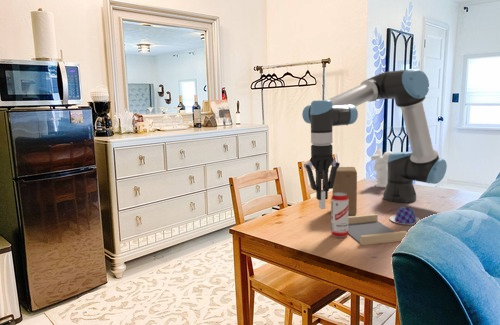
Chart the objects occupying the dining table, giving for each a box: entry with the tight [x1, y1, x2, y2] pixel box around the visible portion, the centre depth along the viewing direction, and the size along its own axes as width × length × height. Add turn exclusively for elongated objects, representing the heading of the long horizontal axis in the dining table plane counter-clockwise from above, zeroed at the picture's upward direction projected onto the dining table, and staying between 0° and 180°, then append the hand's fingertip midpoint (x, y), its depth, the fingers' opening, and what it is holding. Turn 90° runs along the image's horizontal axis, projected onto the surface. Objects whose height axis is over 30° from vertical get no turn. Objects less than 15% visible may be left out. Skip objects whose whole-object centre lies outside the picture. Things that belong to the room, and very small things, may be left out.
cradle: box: [348, 213, 408, 246], centre depth 140 cm, size 17×22×3 cm
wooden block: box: [332, 166, 358, 217], centre depth 163 cm, size 10×10×20 cm
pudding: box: [389, 206, 422, 226], centre depth 151 cm, size 12×12×5 cm
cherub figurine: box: [370, 146, 394, 189], centre depth 207 cm, size 12×12×22 cm
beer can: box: [330, 192, 349, 239], centre depth 137 cm, size 6×6×16 cm
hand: (322, 207), depth 135 cm, fingers closed
